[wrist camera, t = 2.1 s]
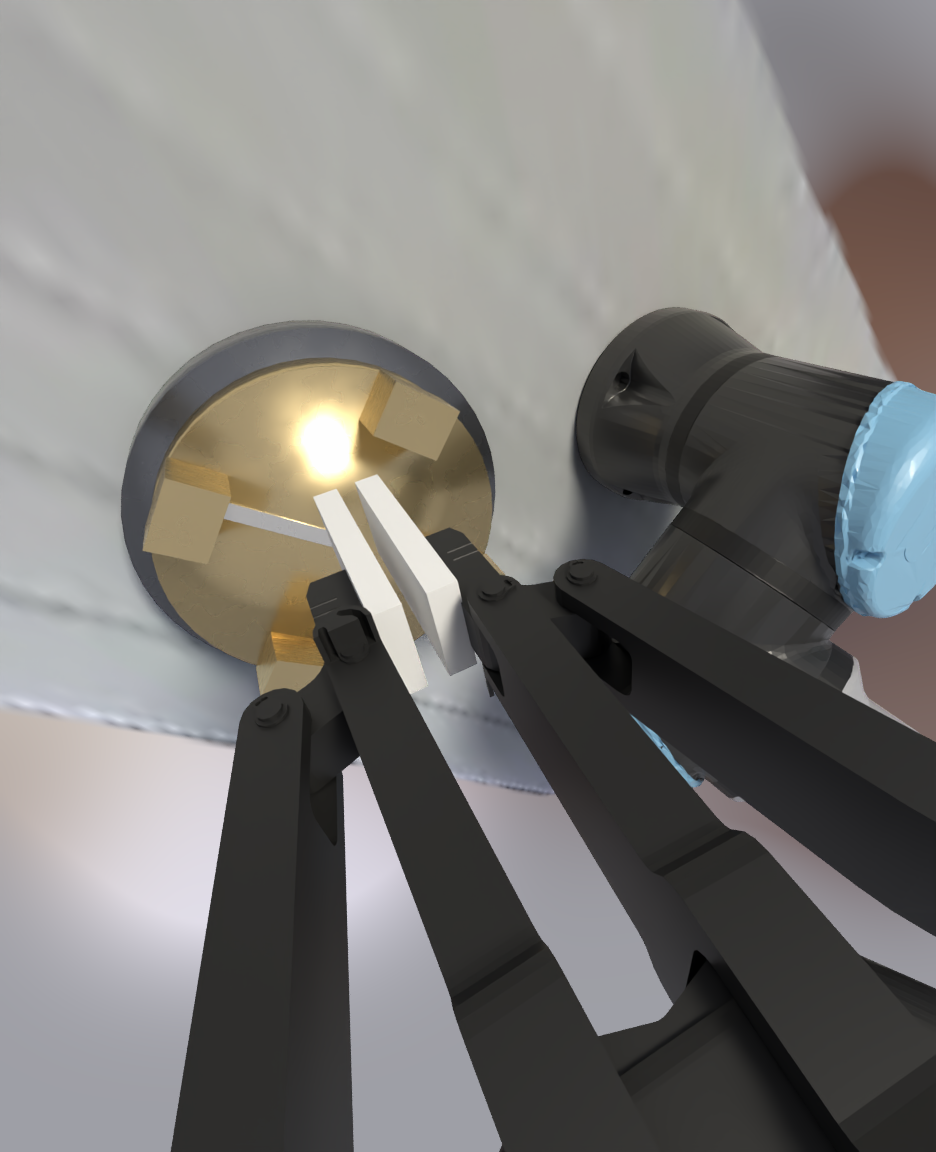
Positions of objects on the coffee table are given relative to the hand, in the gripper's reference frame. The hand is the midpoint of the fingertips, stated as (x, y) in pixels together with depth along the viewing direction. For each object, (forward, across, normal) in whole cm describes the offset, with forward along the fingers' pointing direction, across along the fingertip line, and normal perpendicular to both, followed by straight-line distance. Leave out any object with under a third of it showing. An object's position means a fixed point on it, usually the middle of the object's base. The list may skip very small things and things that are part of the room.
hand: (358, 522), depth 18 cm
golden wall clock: (+17, 0, +9) cm, 20 cm away
